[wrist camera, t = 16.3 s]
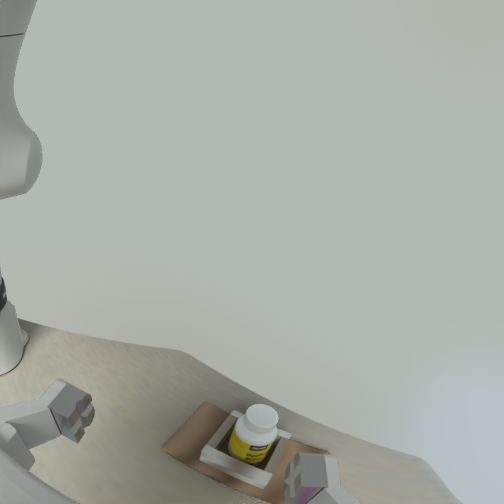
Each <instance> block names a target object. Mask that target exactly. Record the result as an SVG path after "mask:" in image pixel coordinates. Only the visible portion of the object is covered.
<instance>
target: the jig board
mask: <svg viewBox="0 0 504 504" xmlns="http://www.w3.org/2000/svg"><path fill="white" fill-rule="evenodd" d="M242 415H244V414H242V413H240V412H238V411H236V410H233V411H232V412H231V414H229V413H227V412H224V411H222V410H220V409H218V408H216V407H214V406H213V405H211V404H209V403H207V402H204V403H203V404H202V405H201V406H200V408H199V409H198V410H197V411H196V412H195V413H194V414H193V415H192V416H191V417H190V418H189V419H188V420H187V421H186V422H185V423H184V424H183V425H182V426H181V427H180V428H179V429H178V430H177V431H176V432H175V433H174V434H173V435H172V436H171V437H170V438H169V439H168V440H167V441H166V442H165V443H164V444H163V445H162V450H163V451H165V452H166V453H168V454H170V455H171V456H173V457H174V458H176V459H178V460H180V461H181V462H183V463H185V464H186V465H188V466H190V467H192V468H194V469H195V470H197V471H199V472H201V473H203V474H205V475H207V476H209V477H211V478H213V479H215V480H217V481H219V482H221V483H223V484H225V485H227V486H229V487H232V488H234V489H236V490H238V491H241V492H243V493H245V494H248V495H250V496H253V497H255V498H258V499H261V500H263V501H266V502H269V503H272V504H290V503H285V489H286V488H287V487H288V485H287V483H286V482H285V471H286V468H287V466H288V464H289V463H290V462H291V461H293V460H294V456H295V454H296V453H316V454H331V453H329V452H326V451H322V450H319V449H316V448H313V447H310V446H307V445H304V444H301V443H298V442H295V441H293V440H290V437H291V435H292V434H291V433H288V432H286V431H283V430H280V429H278V428H277V436H276V438H275V440H274V442H273V444H272V445H271V447H270V449H269V450H268V452H267V454H266V456H265V457H264V459H263V460H262V462H261V463H260V464H258V465H257V466H254V467H253V466H251V465H249V464H246V463H244V462H242V461H239V460H237V459H235V458H233V457H231V456H229V455H227V446H228V443H229V441H230V438H231V435H232V432H233V430H234V427H235V424H236V422H237V420H238V419H239V418H240V417H241V416H242Z"/></svg>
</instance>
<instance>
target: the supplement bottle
mask: <svg viewBox="0 0 504 504" xmlns="http://www.w3.org/2000/svg"><path fill="white" fill-rule="evenodd" d="M278 419H279V417H278V414H277V412H276V411H275V410H274V409H273V408H272V407H270V406H268V405H264V404H255V405H252V406H250V407H249V408H248V409H247V411H246V413H245V414H244V415H242V416H241V417H240V418H239V419H238V420H237V422H236V424H235V427H234V430H233V432H232V435H231V438H230V441H229V443H228V446H227V455H229V456H231V457H233V458H235V459H237V460H239V461H242V462H244V463H246V464H249V465H251V466H253V467H254V466H257V465H258V464H260V463H261V462H262V460H263V459H264V457H265V456H266V454H267V452H268V450H269V449H270V447H271V445H272V444H273V442H274V440H275V438H276V436H277V426H276V425H277V422H278Z"/></svg>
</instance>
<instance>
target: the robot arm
mask: <svg viewBox="0 0 504 504" xmlns="http://www.w3.org/2000/svg"><path fill="white" fill-rule="evenodd" d="M36 2H37V0H0V199H5V198H9V197H13V196H17V195H21V194H25V193H27V192H28V191H29V190H30V189H31V187H32V186H33V184H34V183H35V181H36V180H37V177H38V175H39V172H40V169H41V164H42V148H41V144H40V141H39V139H38V137H37V135H36V134H35V132H34V131H32V130H31V129H30V128H29V127H28V126H27V125H26V123H25V122H24V121H23V119H22V118H21V116H20V114H19V112H18V109H17V107H16V103H15V99H14V91H13V86H14V85H13V84H14V76H15V69H16V64H17V60H18V56H19V52H20V49H21V45H22V42H23V39H24V36H25V32H26V31H27V28H28V25H29V22H30V19H31V16H32V13H33V10H34V7H35V4H36ZM28 340H29V337H28V334H27V333H26V332H25V331H24V330H23V329H22V328H20V326H19V322H18V318H17V314H16V311H15V307H14V305H12V304H11V303H10V302H9V301H7V297H6V287H5V285H4V280H3V278H2V277H1V270H0V375H2V374H4V373H7V372H8V371H10V370H12V369H13V368H14V367H15V366H16V365H17V364H18V363H19V361H20V359H21V357H22V354H23V348H24V346H25V344H26V343H27V342H28ZM91 401H92V398H91V395H90V394H88V393H86V392H84V391H82V390H80V389H78V388H77V387H75V386H73V385H71V384H70V383H68V382H66V381H64V380H62V379H58V380H56V381H55V382H54V383H53V384H52V385H51V387H50V388H49V389H48V390H47V391H46V392H45V393H44V394H43V395H42V396H41V398H40V399H39V400H36V399H34V400H30V401H26V402H22V403H18V404H13V405H9V406H5V407H0V504H80V503H78V502H76V501H74V500H72V499H71V498H69V497H67V496H65V495H64V494H62V493H60V492H59V491H57V490H56V489H54V488H53V487H51V486H49V485H48V484H46V483H45V482H43V481H42V480H41V479H39V478H38V477H36V476H35V475H34V474H32V473H31V472H29V470H30V468H31V467H32V465H33V464H34V462H35V458H34V456H33V455H32V453H31V452H30V450H29V449H31V448H33V447H36V446H38V445H40V444H43V443H45V442H47V441H50V440H52V439H54V438H56V437H59V436H61V434H62V435H63V436H65V437H67V438H69V439H70V440H72V441H74V442H76V443H78V442H79V441H80V439H81V438H82V436H83V435H84V433H85V432H84V428H85V427H87V426H90V424H91V422H92V421H93V418H94V412H95V410H94V407H93V405H92V404H91V403H90V402H91ZM285 482H286V483H287V485H288V487H287V488H286V489H285V503H290V504H360V503H359V502H358V501H357V500H356V499H355V498H354V497H353V496H352V495H351V494H350V493H349V491H348V490H347V489H346V488H345V487H341V483H340V477H339V470H338V464H337V458H336V456H335V455H334V454H316V453H296V454H295V456H294V460H293V461H291V462H290V463H289V464H288V466H287V468H286V471H285Z"/></svg>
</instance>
